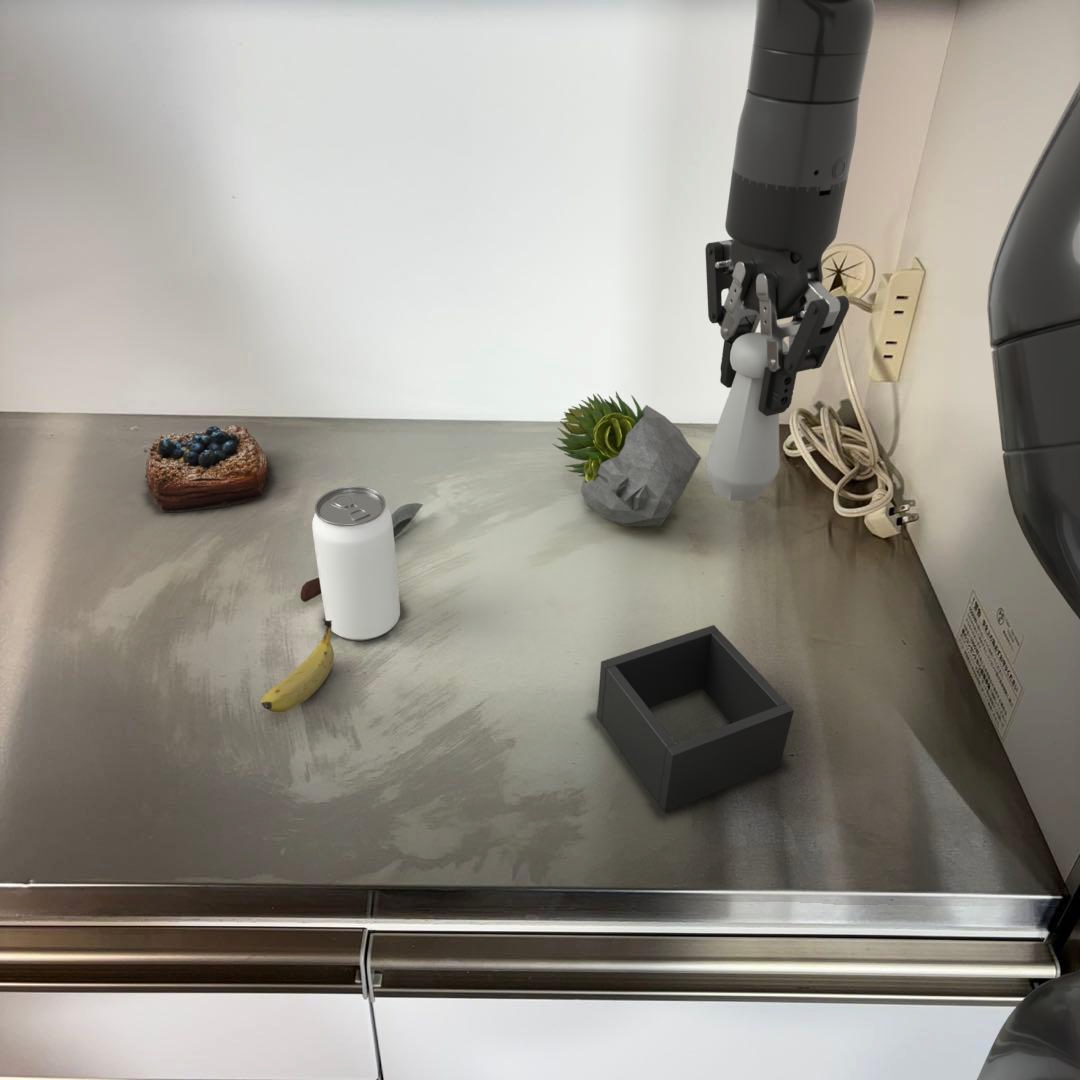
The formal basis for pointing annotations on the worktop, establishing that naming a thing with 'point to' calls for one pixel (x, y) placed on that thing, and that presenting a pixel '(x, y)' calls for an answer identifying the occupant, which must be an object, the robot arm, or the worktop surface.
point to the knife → (399, 522)
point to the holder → (706, 757)
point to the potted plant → (628, 460)
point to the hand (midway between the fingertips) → (752, 397)
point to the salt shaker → (745, 428)
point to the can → (356, 562)
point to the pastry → (206, 469)
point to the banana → (302, 678)
